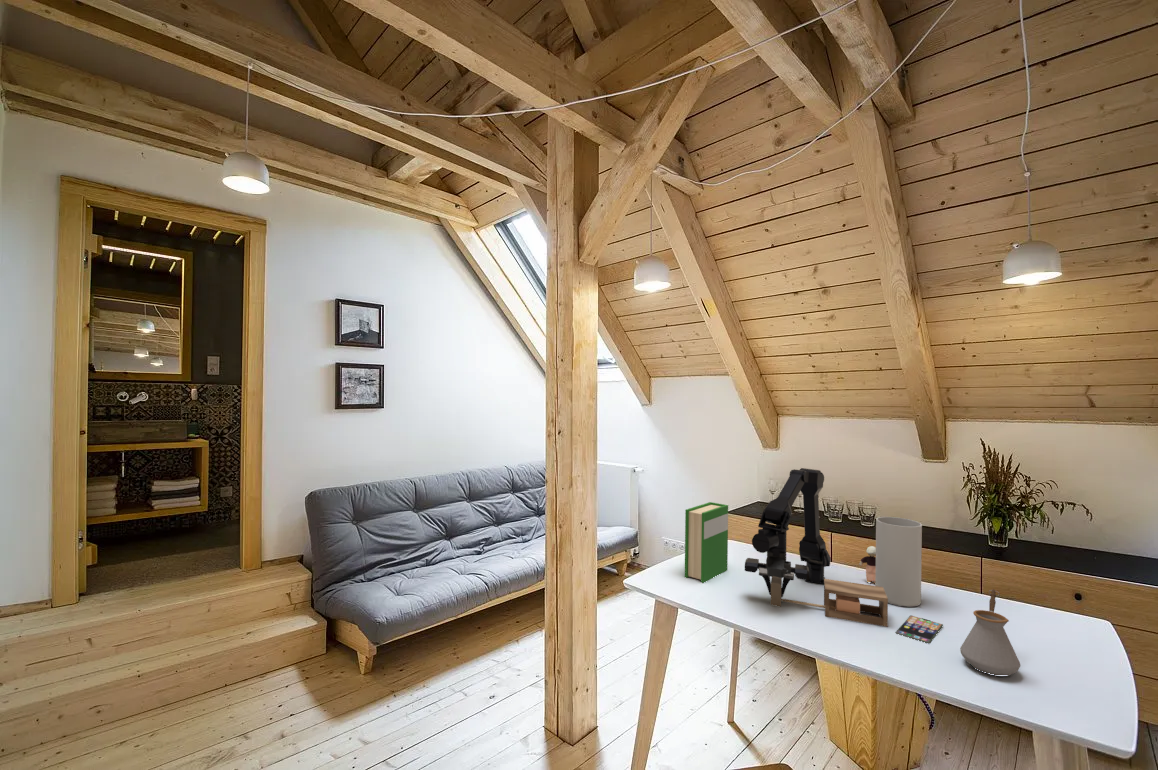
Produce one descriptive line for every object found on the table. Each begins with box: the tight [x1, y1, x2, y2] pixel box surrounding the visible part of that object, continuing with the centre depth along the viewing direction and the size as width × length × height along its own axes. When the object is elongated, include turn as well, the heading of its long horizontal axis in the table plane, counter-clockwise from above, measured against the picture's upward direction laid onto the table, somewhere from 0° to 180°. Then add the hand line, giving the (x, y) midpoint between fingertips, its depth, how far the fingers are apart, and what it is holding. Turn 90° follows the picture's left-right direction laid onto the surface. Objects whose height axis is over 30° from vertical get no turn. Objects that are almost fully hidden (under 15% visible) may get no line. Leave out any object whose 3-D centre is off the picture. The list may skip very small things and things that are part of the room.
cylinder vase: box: [874, 516, 923, 608], centre depth 167 cm, size 12×12×25 cm
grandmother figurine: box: [858, 545, 876, 584], centre depth 181 cm, size 8×4×13 cm, turn 65°
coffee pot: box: [959, 588, 1021, 676], centre depth 130 cm, size 21×12×15 cm, turn 138°
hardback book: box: [684, 501, 729, 584], centre depth 188 cm, size 18×7×24 cm, turn 137°
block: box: [770, 576, 861, 614], centre depth 159 cm, size 6×24×7 cm, turn 67°
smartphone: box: [894, 615, 944, 644], centre depth 146 cm, size 8×15×1 cm, turn 133°
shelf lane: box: [823, 578, 889, 628], centre depth 155 cm, size 9×16×8 cm, turn 67°
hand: (776, 595), depth 163 cm, fingers closed on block, 3 cm apart
